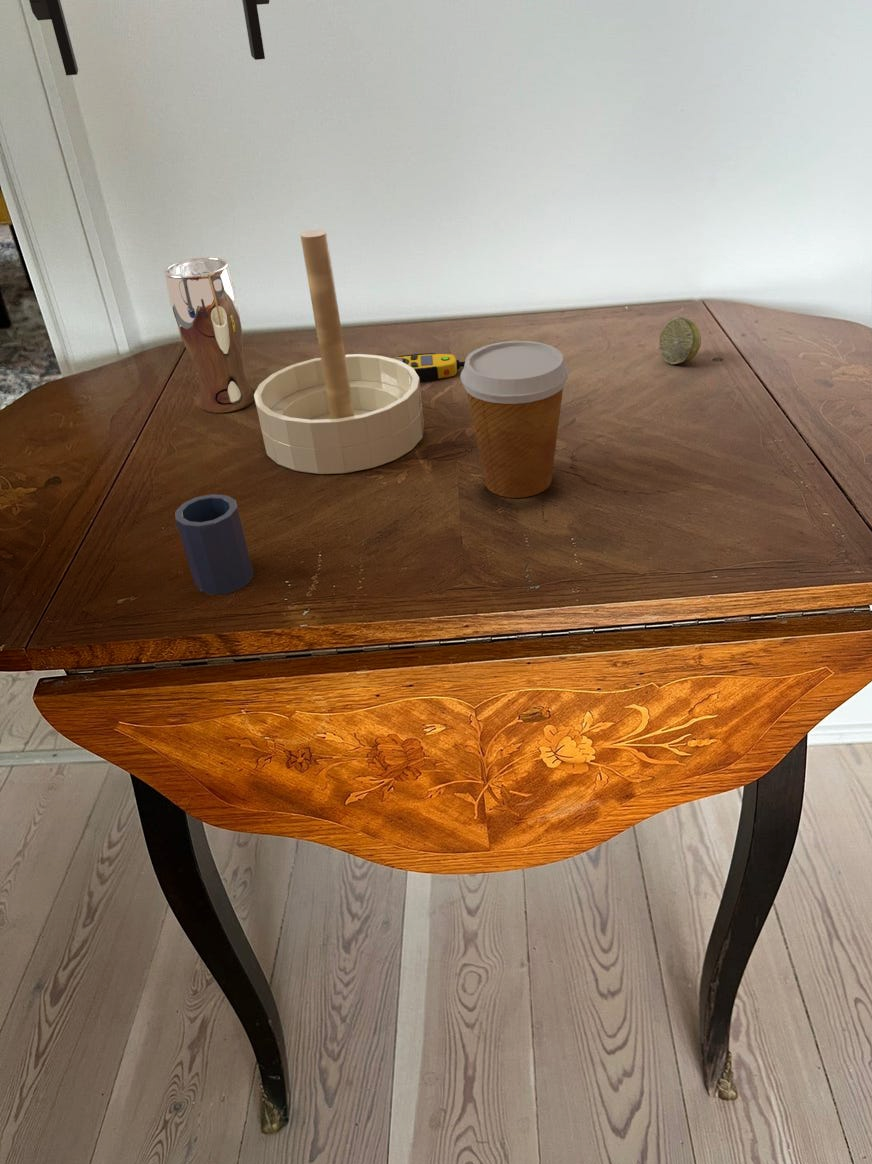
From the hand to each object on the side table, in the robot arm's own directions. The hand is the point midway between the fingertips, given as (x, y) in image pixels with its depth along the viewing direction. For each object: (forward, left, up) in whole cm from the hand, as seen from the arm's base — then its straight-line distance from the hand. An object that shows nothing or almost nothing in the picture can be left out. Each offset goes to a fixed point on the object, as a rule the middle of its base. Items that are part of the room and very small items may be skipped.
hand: (167, 65), depth 71 cm
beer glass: (-2, +20, -35) cm, 41 cm away
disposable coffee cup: (+23, -10, -35) cm, 43 cm away
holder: (-5, -17, -35) cm, 39 cm away
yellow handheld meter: (+23, +18, -35) cm, 46 cm away
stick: (+9, +5, -35) cm, 36 cm away
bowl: (+9, +5, -35) cm, 37 cm away
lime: (+49, +10, -35) cm, 62 cm away
